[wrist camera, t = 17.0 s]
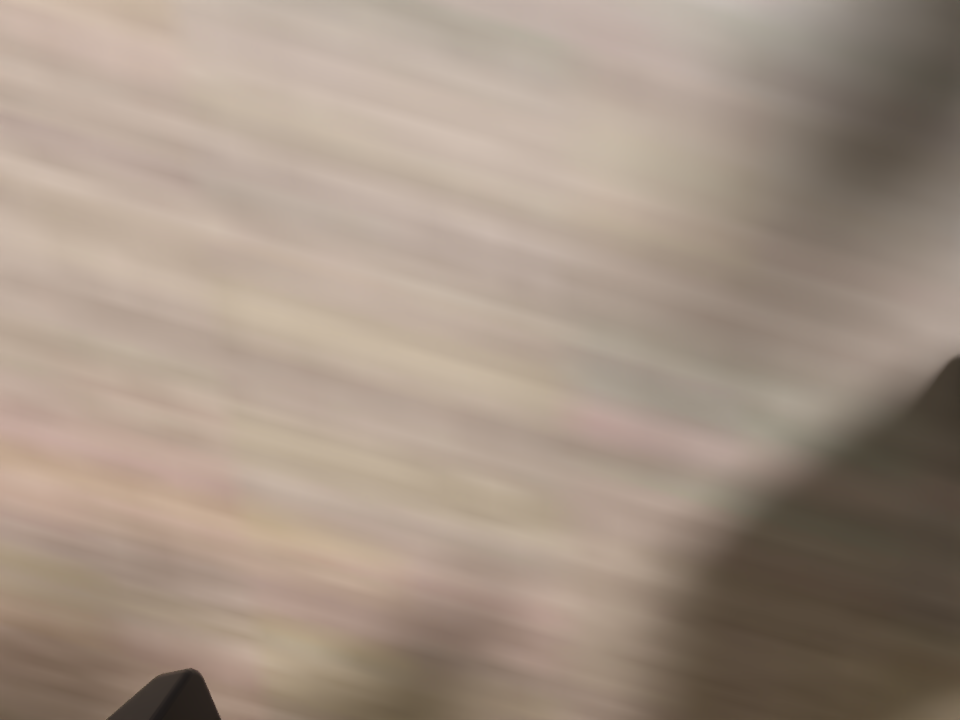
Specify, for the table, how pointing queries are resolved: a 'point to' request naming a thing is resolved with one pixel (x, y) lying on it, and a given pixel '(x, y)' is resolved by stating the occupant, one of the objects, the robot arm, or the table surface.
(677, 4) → the table surface
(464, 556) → the table surface
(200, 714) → the robot arm
